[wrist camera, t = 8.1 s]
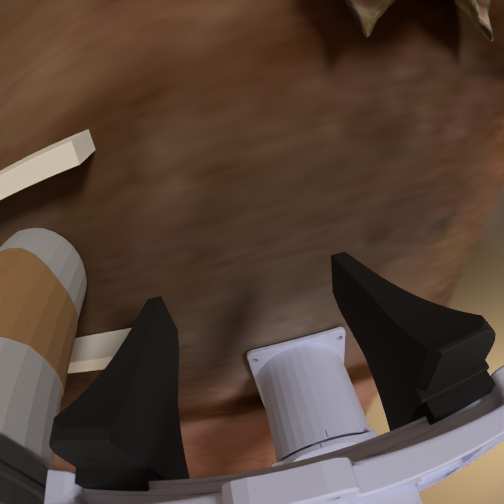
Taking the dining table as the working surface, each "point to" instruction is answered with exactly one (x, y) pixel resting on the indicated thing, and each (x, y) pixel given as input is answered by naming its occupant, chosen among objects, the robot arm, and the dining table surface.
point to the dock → (37, 169)
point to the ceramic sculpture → (376, 3)
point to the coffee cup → (34, 353)
